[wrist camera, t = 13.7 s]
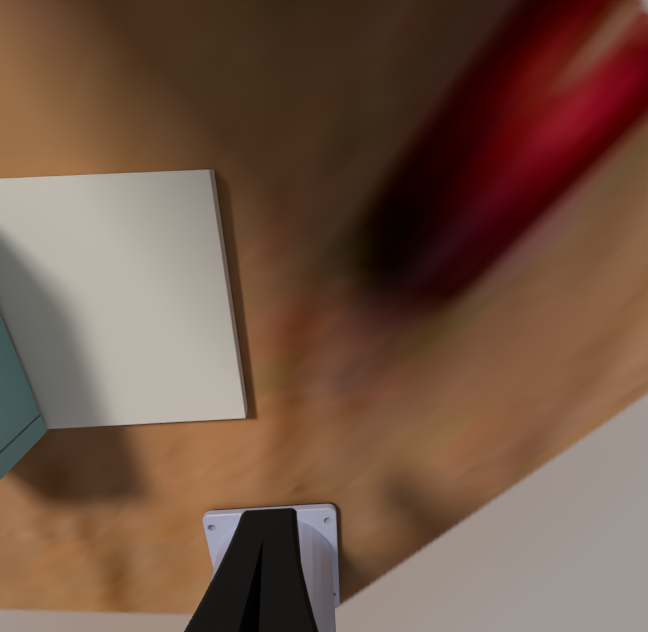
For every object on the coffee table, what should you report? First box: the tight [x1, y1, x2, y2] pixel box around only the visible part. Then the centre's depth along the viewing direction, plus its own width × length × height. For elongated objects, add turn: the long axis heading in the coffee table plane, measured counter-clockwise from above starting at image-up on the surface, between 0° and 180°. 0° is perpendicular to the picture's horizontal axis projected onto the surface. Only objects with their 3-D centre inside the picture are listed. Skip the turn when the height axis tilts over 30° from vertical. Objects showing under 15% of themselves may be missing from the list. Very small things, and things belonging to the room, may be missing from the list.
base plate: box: [0, 169, 248, 429], centre depth 16 cm, size 12×18×4 cm, turn 92°
